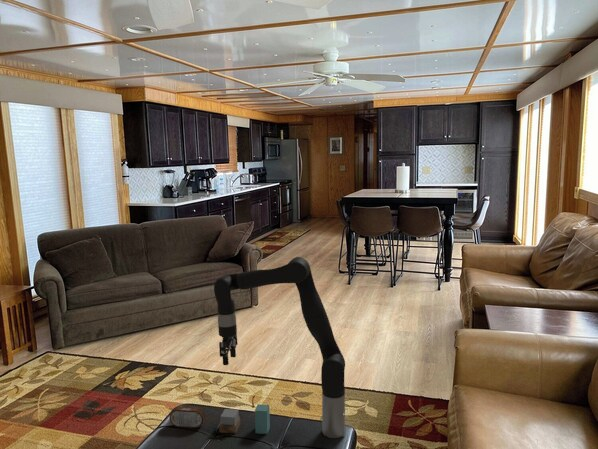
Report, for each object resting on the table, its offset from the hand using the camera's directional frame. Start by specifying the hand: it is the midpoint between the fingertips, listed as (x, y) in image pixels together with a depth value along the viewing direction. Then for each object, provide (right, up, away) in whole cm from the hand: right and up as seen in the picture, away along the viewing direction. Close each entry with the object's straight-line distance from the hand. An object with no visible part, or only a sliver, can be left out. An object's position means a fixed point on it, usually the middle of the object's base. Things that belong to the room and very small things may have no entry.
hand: (229, 360), depth 192 cm
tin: (-18, -29, +3) cm, 34 cm away
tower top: (0, -26, +1) cm, 25 cm away
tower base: (0, -29, +1) cm, 29 cm away
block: (+14, -29, -1) cm, 32 cm away
